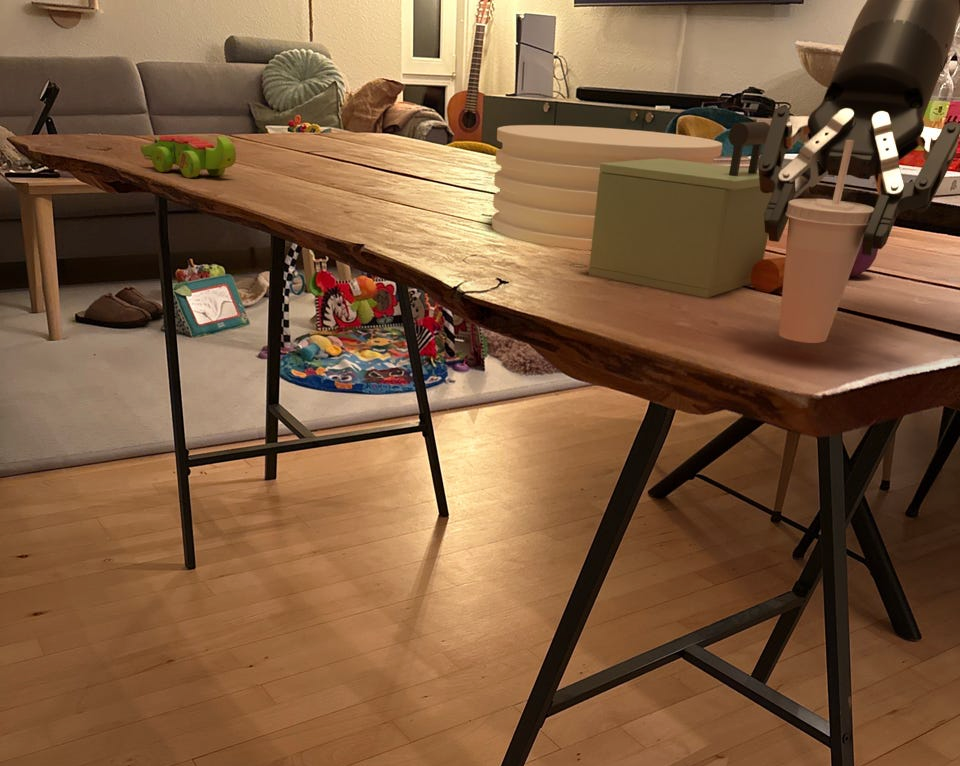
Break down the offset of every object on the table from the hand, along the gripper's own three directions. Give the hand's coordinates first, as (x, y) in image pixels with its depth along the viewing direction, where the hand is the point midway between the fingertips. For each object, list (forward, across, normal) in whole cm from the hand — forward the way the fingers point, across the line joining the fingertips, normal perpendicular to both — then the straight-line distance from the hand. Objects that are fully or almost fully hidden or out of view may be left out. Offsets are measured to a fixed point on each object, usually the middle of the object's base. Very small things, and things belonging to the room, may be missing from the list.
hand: (819, 240), depth 72 cm
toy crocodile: (-26, -110, +40) cm, 120 cm away
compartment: (-11, -19, +24) cm, 33 cm away
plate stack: (-26, -38, +40) cm, 61 cm away
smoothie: (+4, 0, +6) cm, 8 cm away
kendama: (-18, -7, +31) cm, 36 cm away
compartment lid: (-18, -19, +17) cm, 31 cm away
